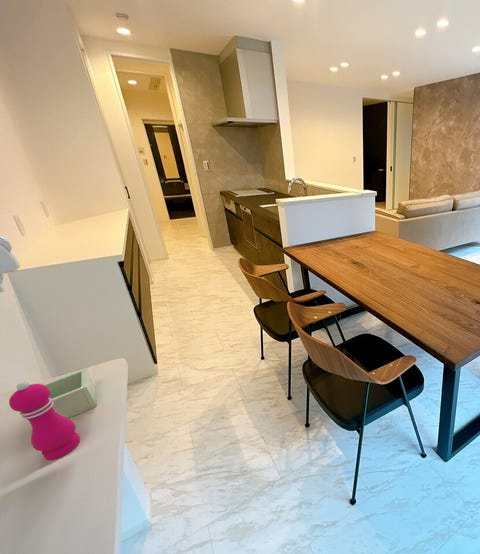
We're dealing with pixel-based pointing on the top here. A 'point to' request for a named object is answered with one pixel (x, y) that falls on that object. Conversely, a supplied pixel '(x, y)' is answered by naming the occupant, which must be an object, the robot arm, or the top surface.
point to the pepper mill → (44, 421)
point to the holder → (72, 393)
